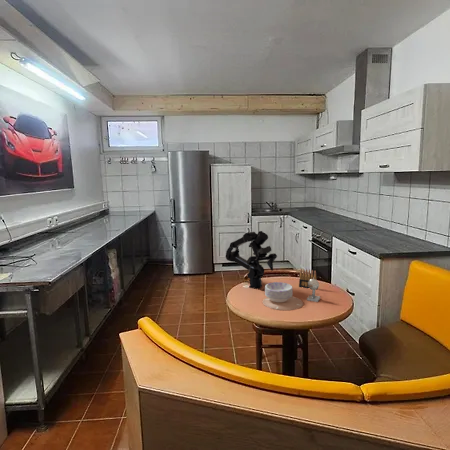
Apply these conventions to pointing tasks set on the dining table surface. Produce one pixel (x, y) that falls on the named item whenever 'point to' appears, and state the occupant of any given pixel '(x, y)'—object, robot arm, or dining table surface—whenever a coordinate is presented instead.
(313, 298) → the dial gauge stand
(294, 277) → the dining table surface
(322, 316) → the dining table surface
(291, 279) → the dining table surface
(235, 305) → the dining table surface
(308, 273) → the ammunition clip
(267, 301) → the centring plate
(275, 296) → the white floral bowl
